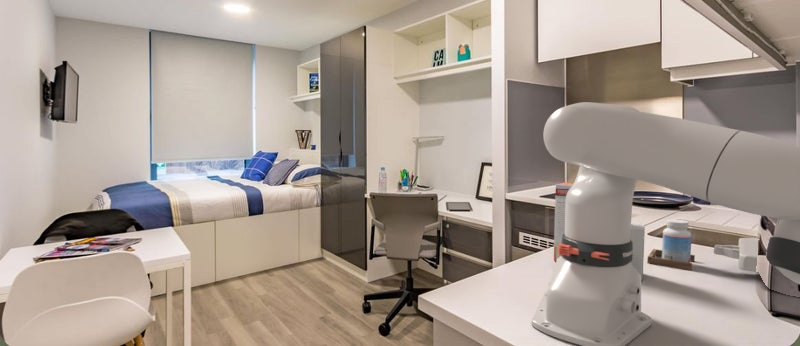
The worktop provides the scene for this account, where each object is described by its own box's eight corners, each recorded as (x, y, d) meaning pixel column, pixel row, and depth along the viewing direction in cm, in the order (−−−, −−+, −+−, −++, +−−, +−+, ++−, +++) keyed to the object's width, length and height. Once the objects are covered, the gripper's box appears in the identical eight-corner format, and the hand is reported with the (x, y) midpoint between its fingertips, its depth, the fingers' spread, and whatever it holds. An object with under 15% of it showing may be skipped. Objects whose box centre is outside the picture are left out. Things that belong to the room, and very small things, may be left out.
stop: (691, 270, 97) (691, 264, 97) (647, 263, 103) (647, 257, 103) (694, 261, 104) (694, 255, 104) (653, 254, 110) (653, 248, 110)
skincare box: (622, 270, 98) (624, 222, 96) (642, 273, 95) (644, 224, 94) (621, 278, 92) (623, 227, 91) (642, 281, 90) (645, 229, 89)
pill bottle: (695, 267, 99) (698, 223, 98) (670, 267, 100) (672, 223, 99) (680, 260, 105) (682, 218, 104) (656, 259, 106) (658, 218, 105)
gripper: (796, 286, 81) (711, 272, 90) (786, 262, 97) (714, 252, 106) (799, 256, 81) (713, 245, 90) (788, 237, 97) (716, 229, 105)
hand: (714, 249), depth 98 cm, fingers closed
